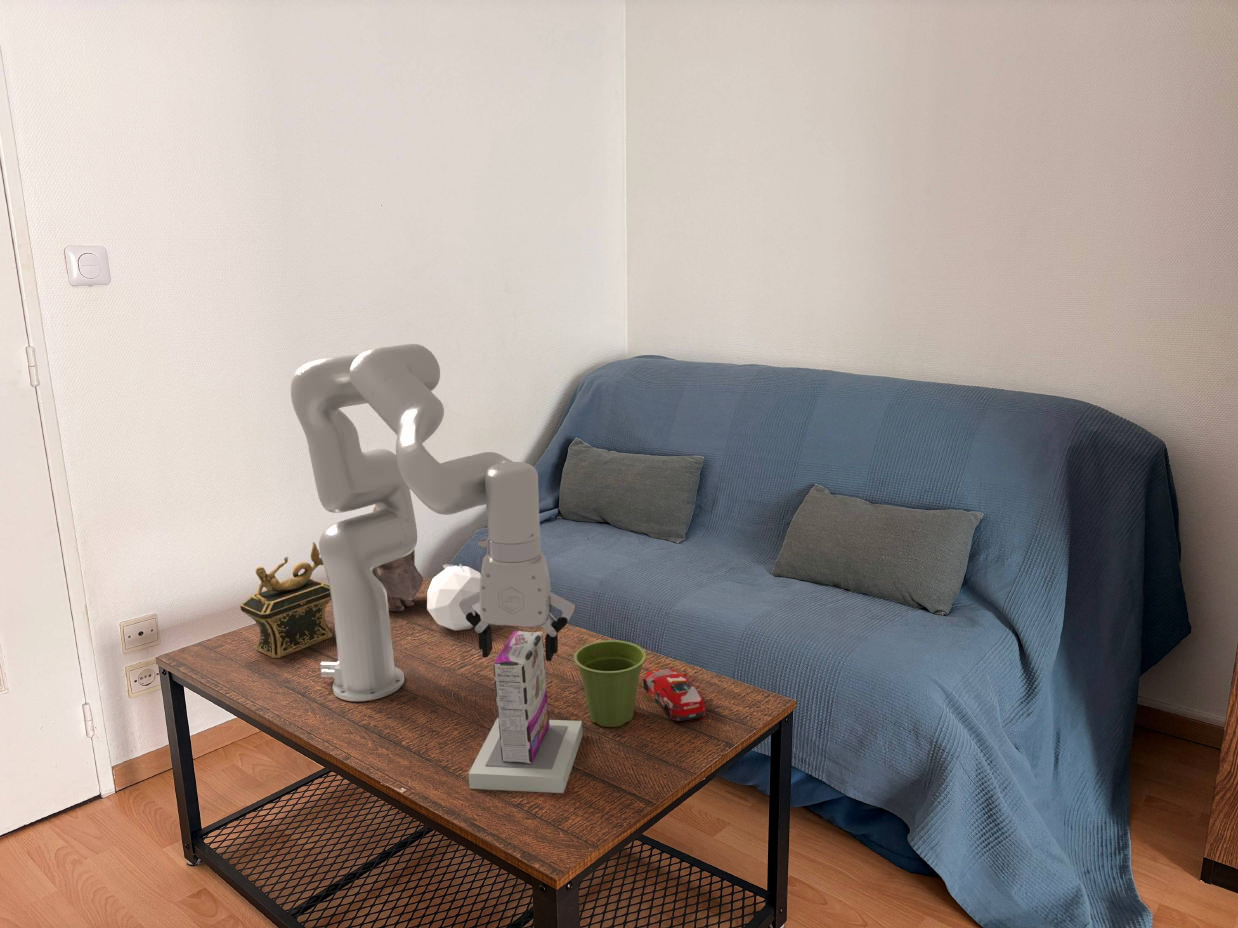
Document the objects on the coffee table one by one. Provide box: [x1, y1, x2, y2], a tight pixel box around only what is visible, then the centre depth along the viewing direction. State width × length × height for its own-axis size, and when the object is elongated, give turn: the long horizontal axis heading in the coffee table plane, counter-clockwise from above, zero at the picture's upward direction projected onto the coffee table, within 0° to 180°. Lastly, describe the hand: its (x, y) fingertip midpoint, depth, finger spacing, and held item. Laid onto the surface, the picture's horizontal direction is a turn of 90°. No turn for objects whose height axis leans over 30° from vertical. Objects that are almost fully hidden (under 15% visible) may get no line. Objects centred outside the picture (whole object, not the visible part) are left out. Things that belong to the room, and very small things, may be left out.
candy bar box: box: [492, 630, 550, 764], centre depth 138 cm, size 11×5×16 cm, turn 170°
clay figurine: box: [372, 506, 424, 613], centre depth 199 cm, size 13×10×25 cm
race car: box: [642, 668, 706, 722], centre depth 156 cm, size 16×7×5 cm, turn 18°
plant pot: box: [573, 639, 647, 728], centre depth 151 cm, size 12×12×11 cm
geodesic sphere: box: [426, 563, 481, 631], centre depth 190 cm, size 14×14×14 cm
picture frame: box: [468, 717, 584, 794], centre depth 140 cm, size 14×16×3 cm
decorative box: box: [239, 541, 334, 659], centre depth 185 cm, size 20×10×20 cm, turn 140°
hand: (518, 655), depth 137 cm, fingers open, 9 cm apart
